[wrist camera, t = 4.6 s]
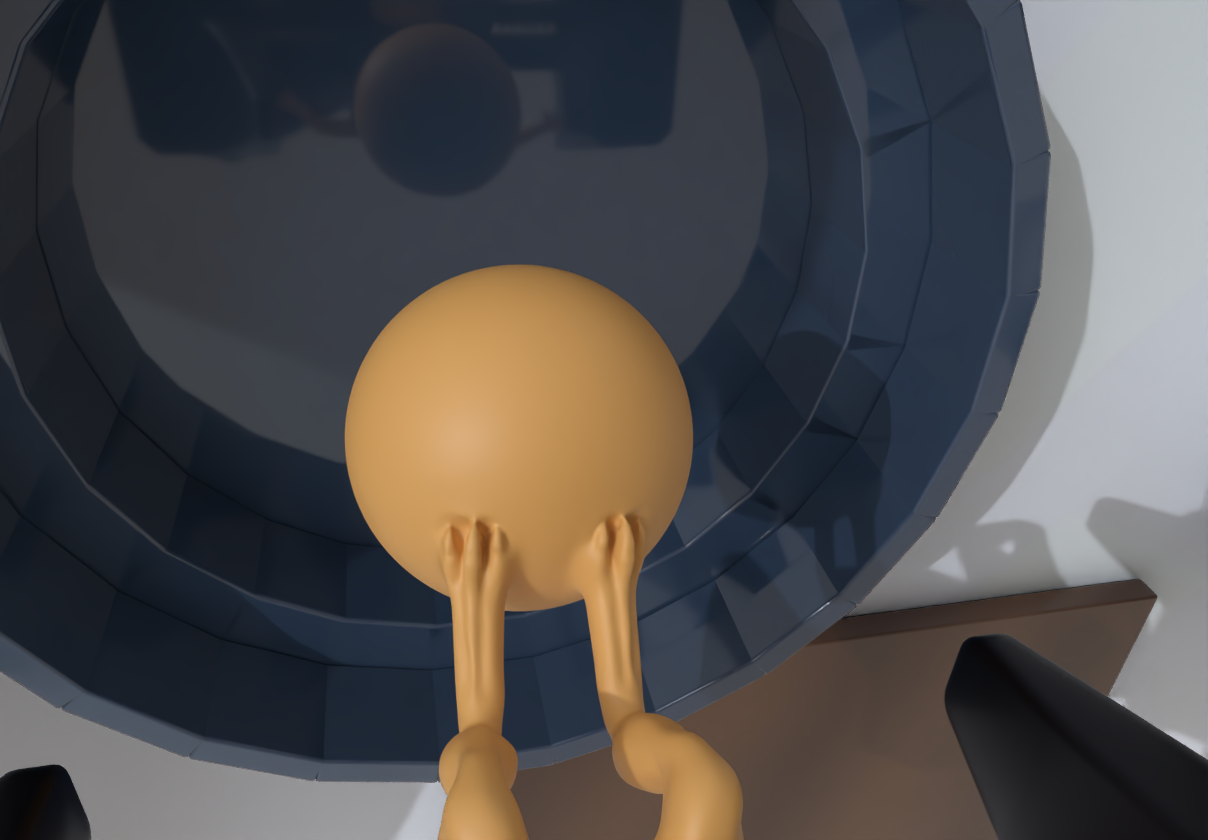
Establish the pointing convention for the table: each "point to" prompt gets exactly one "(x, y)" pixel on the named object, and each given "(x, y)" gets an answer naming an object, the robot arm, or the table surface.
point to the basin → (445, 250)
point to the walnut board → (852, 726)
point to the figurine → (533, 512)
